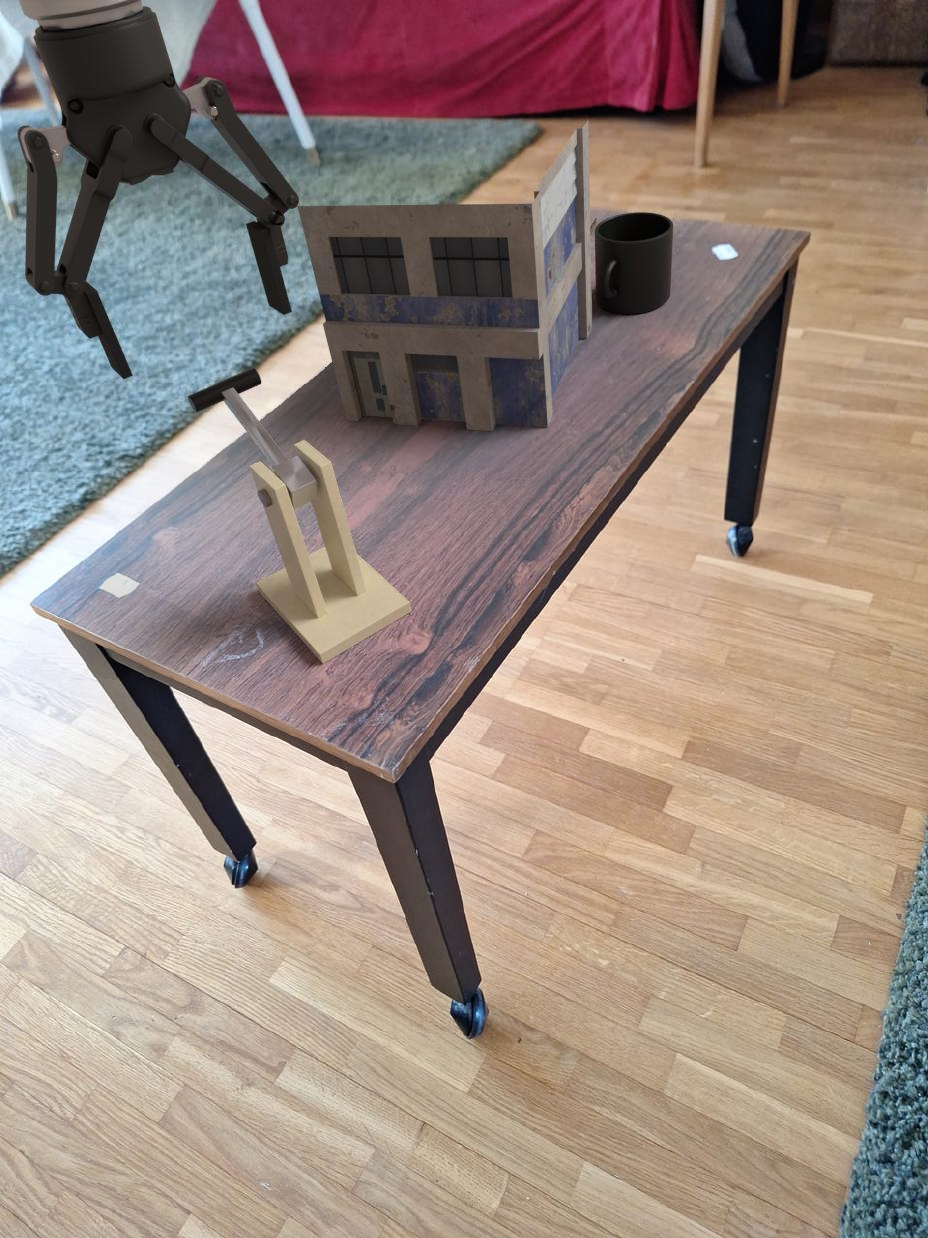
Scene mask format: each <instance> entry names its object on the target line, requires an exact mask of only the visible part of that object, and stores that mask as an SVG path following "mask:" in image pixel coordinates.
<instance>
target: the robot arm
mask: <svg viewBox="0 0 928 1238" xmlns="http://www.w3.org/2000/svg"><path fill="white" fill-rule="evenodd" d="M18 3H19V5H20V7H21V10H22V13H23V15H24V16H25V17H27V18H28V19H30V20H33V21H37V24H38V27H36V28H35V30H34V34H35V35H34V36H33V41H34V43H35V46H36V49H37V51H38V53H39V57H40V59H41V62H42V63H43V67H44V69H45V71H46V74H47V76H48V78H49V79H48V80H49V82H50V84H51V86H52V89H53V92H54V94H55V97H56V99H57V102H58V105H59V108H60V112H61V125H54V126H47V127H41V128H34V127H32V126H30V125H22V126H20V127H19V128H18V129H17V141H18V143H19V145H20V149H21V152H22V156H23V158H24V161H25V164H26V207H25V208H26V209H25V219H26V220H25V262H24V263H25V265H24V266H25V267H24V268H25V269H24V278H25V281H26V282H27V284H28V285H29V286H30V287H31V288H32V289H33V290H34V291H35V292H37V294H38V295H41V296H42V297H46V296H47V297H48V296H50V295H61V296H63V298H64V300H65V302H66V304H67V306H68V309H69V311H70V313H71V315H72V318H73V320H74V322H75V324H76V327H77V328H78V329H79V330H80V331H81V332H82V333H83V334H84V335H85V336H86V337H87V338H88V339H89V340H91V339H94V338H96V337H98V340H99V343H100V345H101V346H102V349H103V351H104V354H105V356H106V357H107V358H106V359H107V360H108V362H109V365H110V367H111V369H112V370H113V371H114V372H115V373H116V374H117V375H118V376H119V377H120V378H121V379H122V380H126V379H128V378H131V377H133V376H134V375H133V372H132V369H131V368H130V365H129V363H128V360H127V357H126V356H125V353H124V351H123V348H122V346H121V344H120V341H119V339H118V336H117V334H116V331H115V330H114V329H115V328H114V327H113V325H112V322H111V320H110V318H109V317H110V316H108V313H107V311H106V307H105V305H104V303H103V301H102V299H101V295H100V294H99V292H98V290H97V289H96V288H95V287H93V285H91V284H90V283H89V282H88V281H87V279H88V276H89V273H90V269H91V266H92V262H93V259H94V256H95V253H96V249H97V247H98V243H99V241H100V237H101V233H102V230H103V227H104V224H105V222H106V218H107V214H108V211H109V207H110V205H111V202H112V201H113V200H114V199H115V197H116V194H117V191H118V189H119V185H120V183H121V184H127V185H129V186H134V185H138V184H140V183H143V182H144V181H147V179H149V178H150V177H152V176H166V175H170V174H172V173H174V169H175V168H176V167H177V166H178V165H179V163H182V164H183V165H184V166H186V167H187V168H189V169H191V170H192V171H193V172H194V173H195V174H197V175H198V176H199V177H201V178H203V180H205V181H206V182H207V183H209V184H210V185H212V186H213V187H214V188H215V189H217V190H219V191H220V192H221V193H222V194H224V195H225V196H226V197H227V198H229V199H230V200H232V201H233V202H234V203H236V204H237V205H239V206H240V207H241V208H243V209H244V210H245V211H246V212H248V213H249V214H251V215H252V216H253V217H255V219H256V220H253V221H249V222H247V223H245V226H246V231H247V233H248V237H249V240H250V243H251V247H252V251H253V255H254V258H255V261H256V265H257V269H258V272H259V276H260V280H261V283H262V287H263V290H264V293H265V298H266V301H267V304H268V307H271V308H272V309H273V310H275V311H277V312H278V313H280V314H281V315H283V316H285V315H289V314H290V313H292V311H293V310H292V306H291V303H290V299H289V295H288V292H287V288H286V285H285V280H284V276H283V273H282V268H281V267H283V266H286V265H288V264H289V254H288V253H289V252H288V250H287V246H286V241H285V238H284V234H283V230H282V227H283V225H285V223H286V217H285V216H286V215H285V214H286V213H287V212H288V211H289V210H293V209H296V208H298V207H297V206H299V202H300V198H299V195H298V194H297V192H296V191H295V189H294V188H293V186H292V185H291V184H290V183H289V181H288V180H287V179H286V178H285V176H284V175H283V174H282V173H281V171H280V170H279V169H278V167H277V166H276V165H275V163H274V162H273V160H271V158H270V157H269V155H268V154H267V152H266V151H265V150H264V149H263V147H262V146H261V145H260V143H259V142H258V141H257V139H256V138H255V137H254V135H253V134H252V133H251V131H250V130H249V129H248V127H247V126H246V125H245V123H244V122H243V121H242V120H241V118H240V117H239V115H237V113H236V109H235V107H234V104H233V101H232V99H231V96H230V93H229V91H228V88H227V86H226V84H225V83H224V81H222V80H219V79H216V78H213V77H209V76H206V75H201V76H199V77H198V78H197V79H196V84H195V85H192V86H190V87H188V88H185V89H183V90H182V89H181V88H180V86H179V84H178V82H177V80H176V77H175V72H174V69H173V66H172V61H171V58H170V56H169V52H168V49H167V45H166V42H165V39H164V35H163V32H162V29H161V26H160V23H159V19H158V16H157V13H156V12H155V11H153V10H152V8H151V7H149V6H146V5H144V4H143V2H142V0H18ZM192 110H195V111H196V112H197V114H198V115H199V116H200V117H201V118H204V119H206V120H209V121H210V122H211V124H212V125H213V127H214V128H215V129H216V131H217V132H218V133H219V135H220V136H221V137H222V138H223V139H224V141H225V142H226V143H227V144H228V146H229V147H230V148H231V150H232V151H233V152H234V153H235V154H236V156H237V158H239V160H240V161H241V162H242V164H243V165H244V166H245V167H246V168H247V170H248V171H249V173H250V174H251V175H252V176H253V177H254V179H255V180H256V181H257V182H258V184H260V187H261V188H262V189H263V190H264V191H265V192H266V194H267V195H266V196H265V197H264V198H263V197H262V196H260V194H258V193H257V192H256V191H254V190H253V189H252V188H250V187H249V186H247V185H246V184H245V183H244V182H242V181H241V180H240V179H239V178H237V177H236V176H234V174H232V173H231V172H230V171H228V170H227V169H225V168H224V167H223V166H222V165H220V164H219V163H218V162H217V161H216V160H214V159H213V158H211V157H210V155H208V153H206V152H205V151H203V150H202V149H201V148H200V147H198V146H197V145H196V144H194V143H193V142H192V141H190V140H189V138H187V133H188V130H189V125H190V121H191V117H192ZM68 146H70V147H71V148H72V149H73V150H75V151H76V152H77V153H78V154H79V155H81V156H82V157H83V158H85V163H84V167H83V170H82V173H81V177H80V188H79V193H78V195H77V198H76V199H77V200H76V203H75V206H74V210H73V212H72V216H71V218H70V219H71V220H70V223H69V227H68V230H67V233H66V237H65V240H64V243H63V247H62V250H61V252H60V257H59V260H58V263H57V267H56V244H57V243H56V242H57V241H56V240H57V238H56V237H57V213H58V212H57V211H58V210H57V209H58V174H57V168H56V167H59V166H61V165H62V163H63V160H64V151H65V148H67V147H68Z"/></svg>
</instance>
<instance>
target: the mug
mask: <svg viewBox="0 0 928 1238" xmlns="http://www.w3.org/2000/svg"><path fill="white" fill-rule="evenodd" d="M673 242H674V223H673V221H672V219H670V218H669V217H667V216H665V215H663V214H660V213H655V212H647V211H646V212H645V211H640V212H639V211H638V212H626V213H621V214H617V215H614V216H613V215H612V216H610V217H608V218H606V219H603V220H601V221H600V222H599V223H598V224H596V225H595V227H594V266H595V267H594V268H595V271H594V272H595V273H594V274H595V278H594V279H595V301H596V303H597V305H598V306H599V307H600V308H602V309H603V310H605V311H608V312H610V313H613V314H623V315H633V314H636V315H637V314H642V313H649V312H651V311H655V310H657V309H659V308H660V307H662V306H664V305H665V304H666V303H667V302H668V300H669V298H670V296H671V289H672V286H671V285H672V267H673V266H672V263H673V244H674V243H673Z"/></svg>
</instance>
